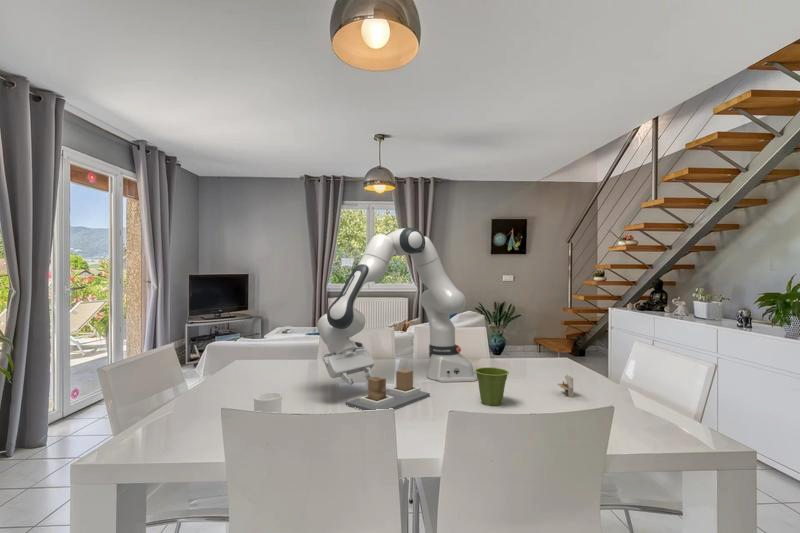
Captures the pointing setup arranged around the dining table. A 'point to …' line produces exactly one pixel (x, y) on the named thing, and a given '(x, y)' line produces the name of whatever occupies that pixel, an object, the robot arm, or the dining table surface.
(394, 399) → the baseplate
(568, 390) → the architectural model
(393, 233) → the robot arm
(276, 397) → the white cup
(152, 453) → the dining table surface
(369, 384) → the walnut block
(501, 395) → the plant pot
